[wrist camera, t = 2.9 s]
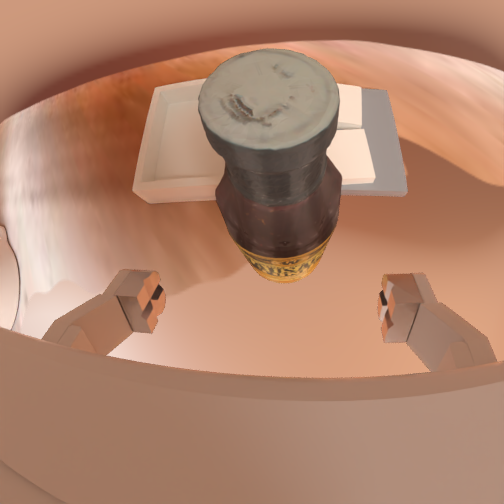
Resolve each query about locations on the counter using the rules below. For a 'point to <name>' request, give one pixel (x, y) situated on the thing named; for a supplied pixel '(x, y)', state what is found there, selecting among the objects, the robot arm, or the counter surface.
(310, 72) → the sauce bottle
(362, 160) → the tile
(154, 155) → the bin
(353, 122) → the tile
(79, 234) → the counter surface
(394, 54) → the counter surface
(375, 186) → the slate board
